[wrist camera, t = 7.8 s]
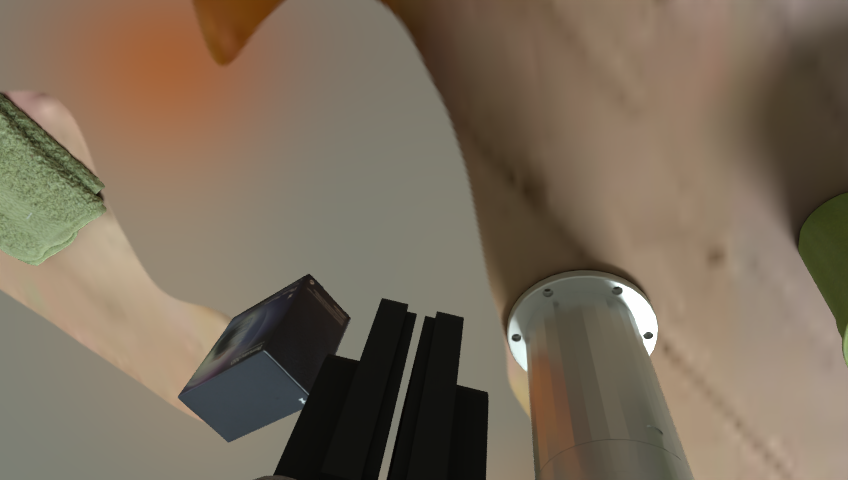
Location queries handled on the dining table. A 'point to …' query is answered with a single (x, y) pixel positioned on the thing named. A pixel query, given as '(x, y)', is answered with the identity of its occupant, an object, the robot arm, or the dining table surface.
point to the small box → (266, 360)
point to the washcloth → (40, 190)
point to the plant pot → (829, 258)
